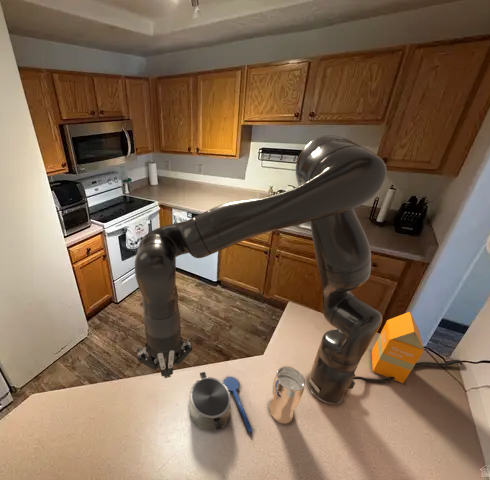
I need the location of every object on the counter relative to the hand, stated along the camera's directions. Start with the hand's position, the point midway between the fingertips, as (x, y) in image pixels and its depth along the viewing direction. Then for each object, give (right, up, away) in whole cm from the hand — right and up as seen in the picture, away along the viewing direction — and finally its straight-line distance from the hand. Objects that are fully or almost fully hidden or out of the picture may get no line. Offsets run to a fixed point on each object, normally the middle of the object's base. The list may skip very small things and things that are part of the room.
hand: (167, 374), depth 62 cm
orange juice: (+69, -8, +20) cm, 73 cm away
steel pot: (+12, -15, +10) cm, 22 cm away
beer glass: (+31, -15, +9) cm, 36 cm away
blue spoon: (+20, -14, +12) cm, 27 cm away
